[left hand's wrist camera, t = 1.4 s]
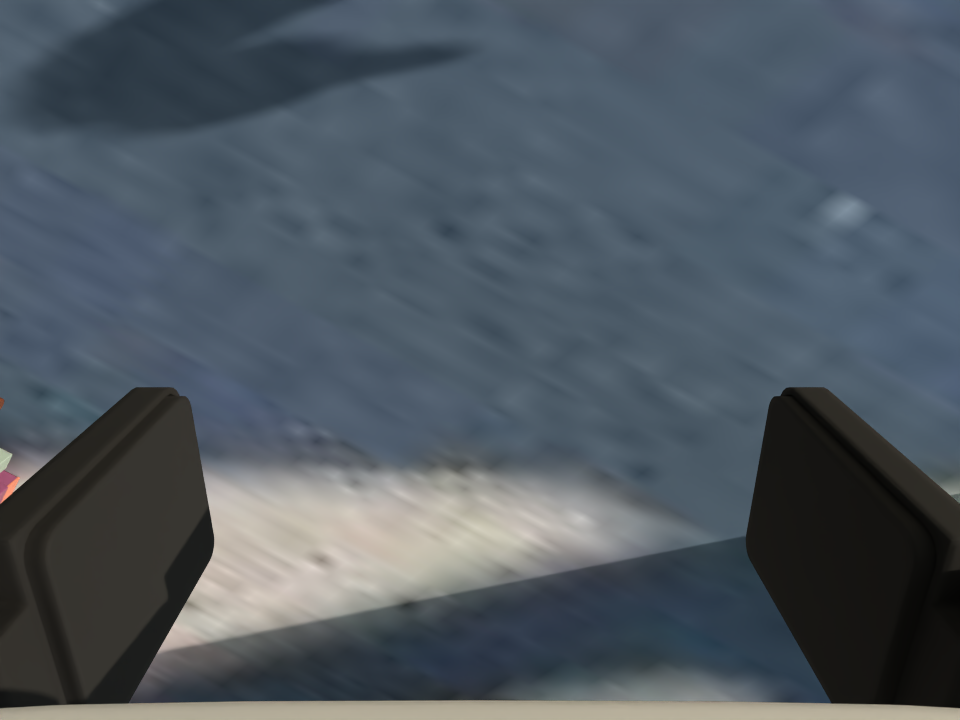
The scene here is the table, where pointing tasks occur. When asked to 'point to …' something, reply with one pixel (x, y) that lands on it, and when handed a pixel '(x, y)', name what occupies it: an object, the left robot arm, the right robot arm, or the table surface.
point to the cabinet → (7, 485)
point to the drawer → (3, 457)
